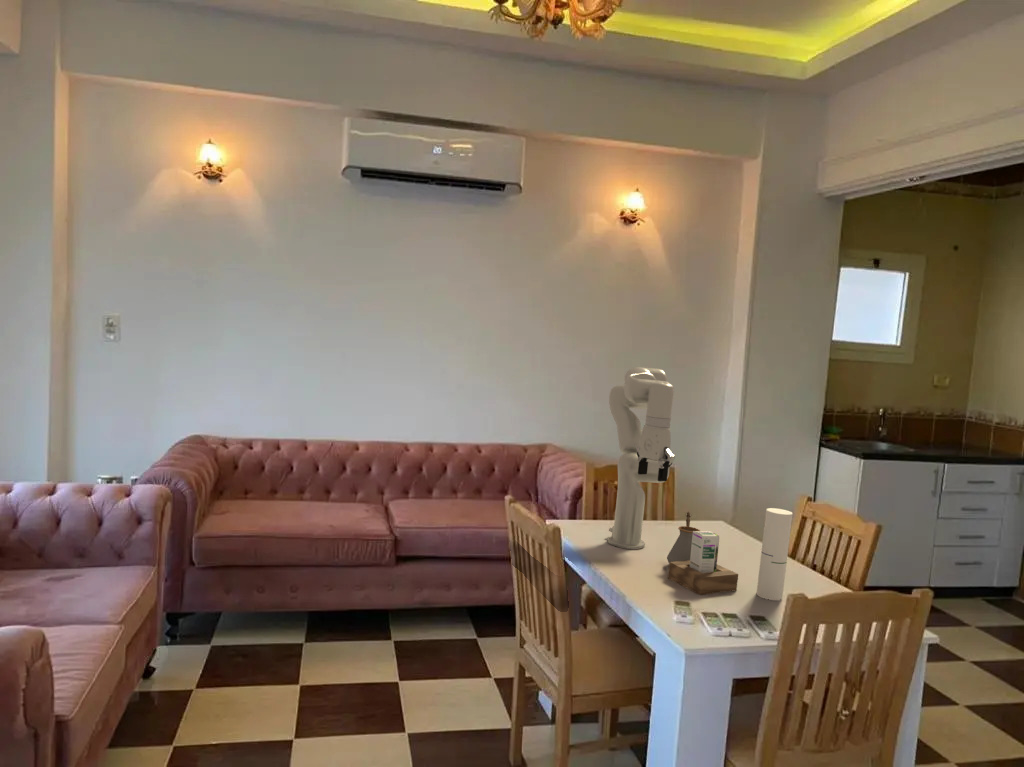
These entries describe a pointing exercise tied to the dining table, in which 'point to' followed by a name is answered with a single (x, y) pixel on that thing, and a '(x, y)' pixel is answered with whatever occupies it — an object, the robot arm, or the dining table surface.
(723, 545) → the dining table surface
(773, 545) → the cylindrical container
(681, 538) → the coffee pot
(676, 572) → the mount block
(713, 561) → the syrup box
